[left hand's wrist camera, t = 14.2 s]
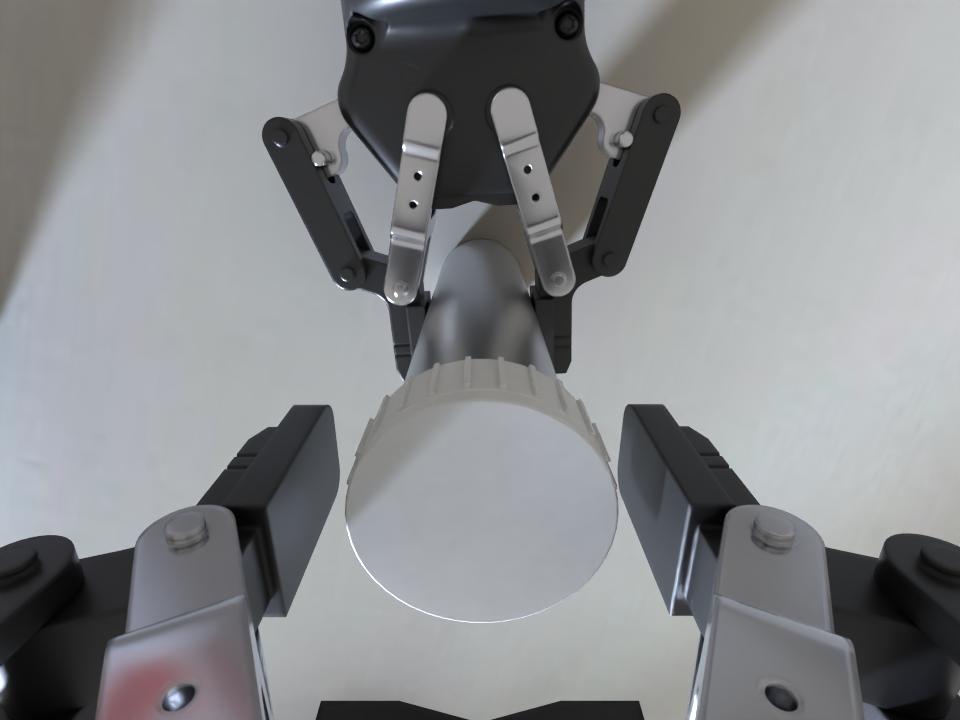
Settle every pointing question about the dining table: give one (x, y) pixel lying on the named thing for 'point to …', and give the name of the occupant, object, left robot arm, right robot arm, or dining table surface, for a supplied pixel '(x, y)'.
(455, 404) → the lid
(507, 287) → the slim metal bottle
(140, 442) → the dining table surface
